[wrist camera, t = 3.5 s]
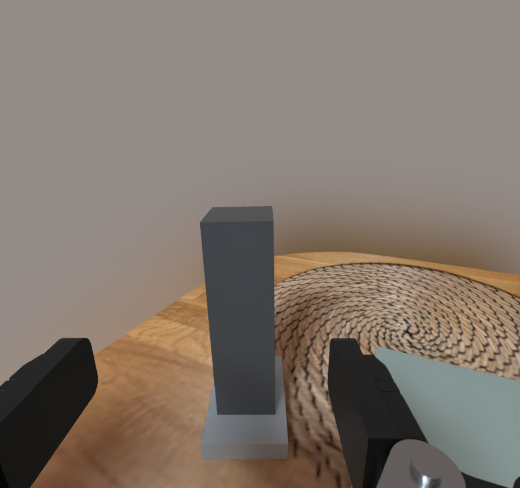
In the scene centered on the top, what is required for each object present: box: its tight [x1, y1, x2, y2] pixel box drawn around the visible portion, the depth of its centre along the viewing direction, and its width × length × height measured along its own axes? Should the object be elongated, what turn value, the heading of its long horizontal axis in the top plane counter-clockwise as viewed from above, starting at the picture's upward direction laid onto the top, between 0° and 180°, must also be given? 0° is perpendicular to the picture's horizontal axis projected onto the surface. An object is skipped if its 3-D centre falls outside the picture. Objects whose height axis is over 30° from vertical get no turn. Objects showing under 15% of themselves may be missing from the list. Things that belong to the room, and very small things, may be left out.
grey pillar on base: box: [200, 206, 288, 460], centre depth 23 cm, size 9×6×16 cm, turn 179°
